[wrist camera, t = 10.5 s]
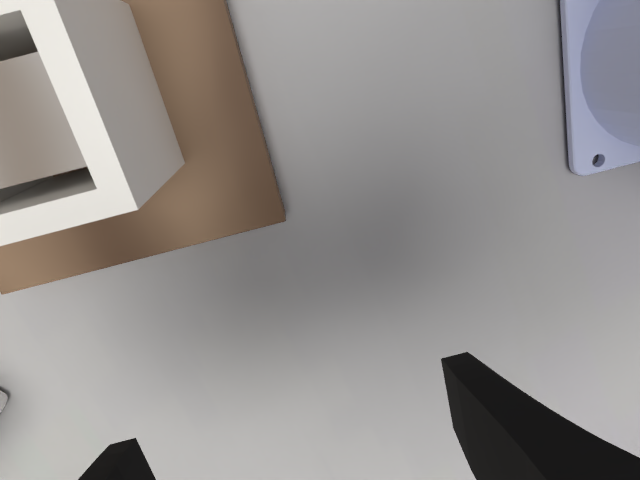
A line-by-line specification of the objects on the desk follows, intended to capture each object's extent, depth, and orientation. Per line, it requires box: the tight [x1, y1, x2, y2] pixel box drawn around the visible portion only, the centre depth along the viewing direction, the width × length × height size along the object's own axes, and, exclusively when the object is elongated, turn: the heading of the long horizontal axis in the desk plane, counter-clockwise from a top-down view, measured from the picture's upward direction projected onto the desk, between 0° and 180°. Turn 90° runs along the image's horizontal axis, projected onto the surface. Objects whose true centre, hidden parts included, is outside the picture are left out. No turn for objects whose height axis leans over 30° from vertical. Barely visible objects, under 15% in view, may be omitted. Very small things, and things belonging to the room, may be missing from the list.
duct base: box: [0, 0, 286, 294], centre depth 14 cm, size 11×11×6 cm
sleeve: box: [0, 0, 185, 246], centre depth 13 cm, size 5×5×6 cm
